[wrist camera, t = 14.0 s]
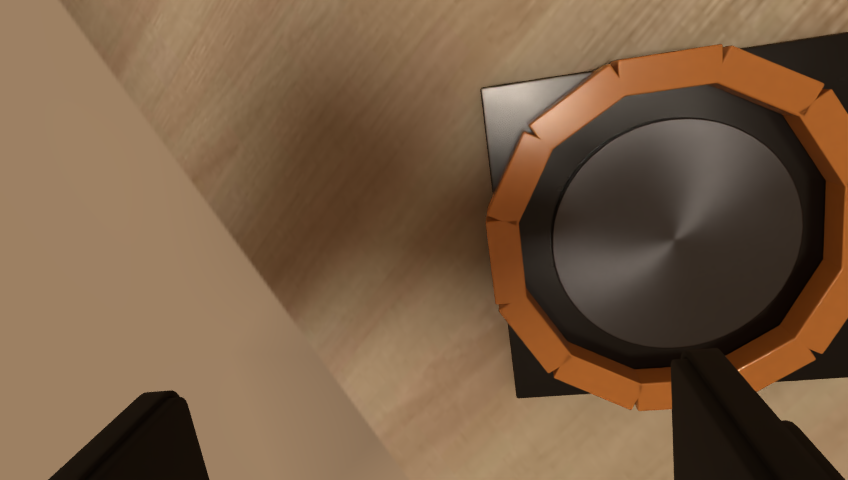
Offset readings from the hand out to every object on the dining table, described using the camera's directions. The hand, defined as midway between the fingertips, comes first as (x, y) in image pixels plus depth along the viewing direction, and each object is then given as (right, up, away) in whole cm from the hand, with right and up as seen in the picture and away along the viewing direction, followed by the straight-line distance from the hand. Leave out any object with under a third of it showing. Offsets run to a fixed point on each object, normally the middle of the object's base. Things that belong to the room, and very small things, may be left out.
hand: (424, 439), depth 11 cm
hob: (+12, +4, +17) cm, 21 cm away
